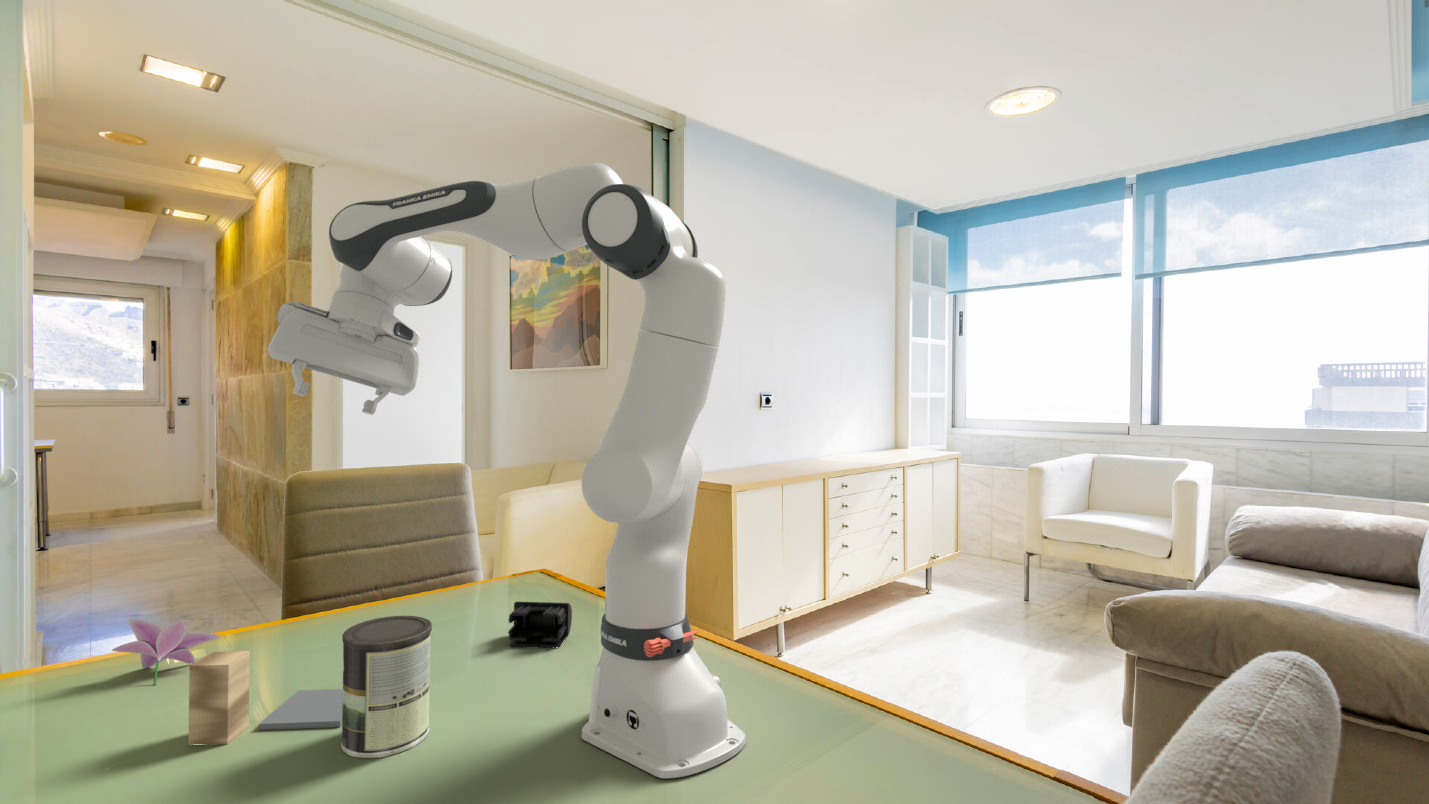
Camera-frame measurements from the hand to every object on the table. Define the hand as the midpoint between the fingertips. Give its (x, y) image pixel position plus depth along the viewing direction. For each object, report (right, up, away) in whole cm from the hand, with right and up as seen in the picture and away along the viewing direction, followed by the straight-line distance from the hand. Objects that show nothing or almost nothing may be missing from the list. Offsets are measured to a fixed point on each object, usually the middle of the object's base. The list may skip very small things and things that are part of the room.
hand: (334, 404), depth 98 cm
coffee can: (+14, -43, -13) cm, 47 cm away
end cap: (+25, -43, +21) cm, 54 cm away
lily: (-29, -42, +4) cm, 51 cm away
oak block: (-7, -43, -14) cm, 45 cm away
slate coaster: (+2, -43, -7) cm, 43 cm away
